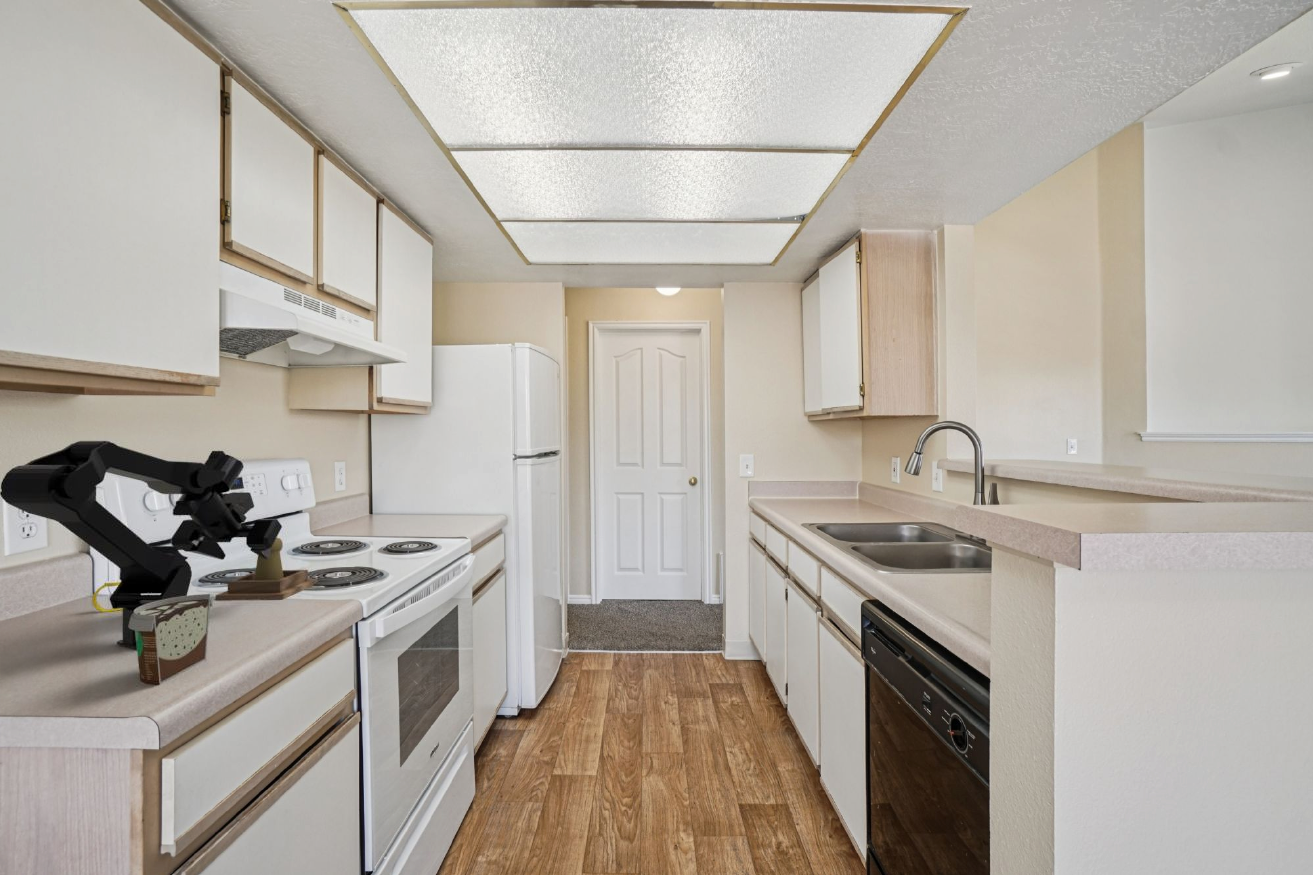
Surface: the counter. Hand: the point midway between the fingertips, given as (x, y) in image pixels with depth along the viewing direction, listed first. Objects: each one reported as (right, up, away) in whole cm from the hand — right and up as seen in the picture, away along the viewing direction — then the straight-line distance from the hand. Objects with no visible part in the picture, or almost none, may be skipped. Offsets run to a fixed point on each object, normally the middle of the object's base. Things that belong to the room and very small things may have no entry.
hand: (246, 557), depth 125 cm
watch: (-22, -9, -7) cm, 25 cm away
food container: (+14, -9, -38) cm, 42 cm away
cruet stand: (0, -9, +8) cm, 12 cm away
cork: (0, -8, +8) cm, 12 cm away
